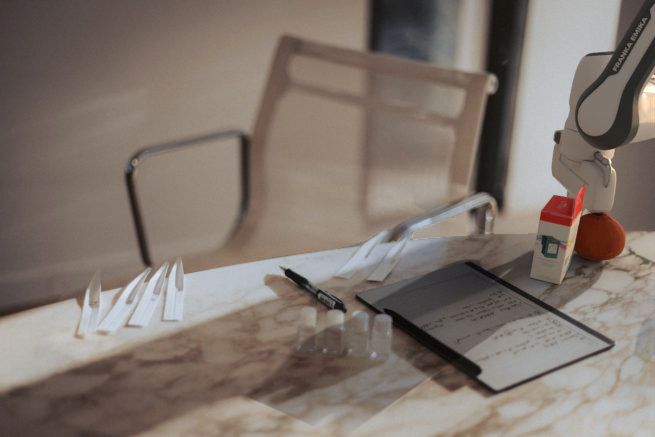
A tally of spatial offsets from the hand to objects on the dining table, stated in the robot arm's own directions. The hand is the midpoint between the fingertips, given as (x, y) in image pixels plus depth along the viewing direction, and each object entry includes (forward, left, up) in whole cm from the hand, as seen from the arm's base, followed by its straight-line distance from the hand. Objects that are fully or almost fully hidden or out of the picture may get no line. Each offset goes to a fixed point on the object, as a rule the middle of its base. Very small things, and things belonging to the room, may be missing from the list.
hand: (573, 217), depth 115 cm
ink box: (+9, +16, -4) cm, 18 cm away
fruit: (0, +10, -4) cm, 10 cm away
